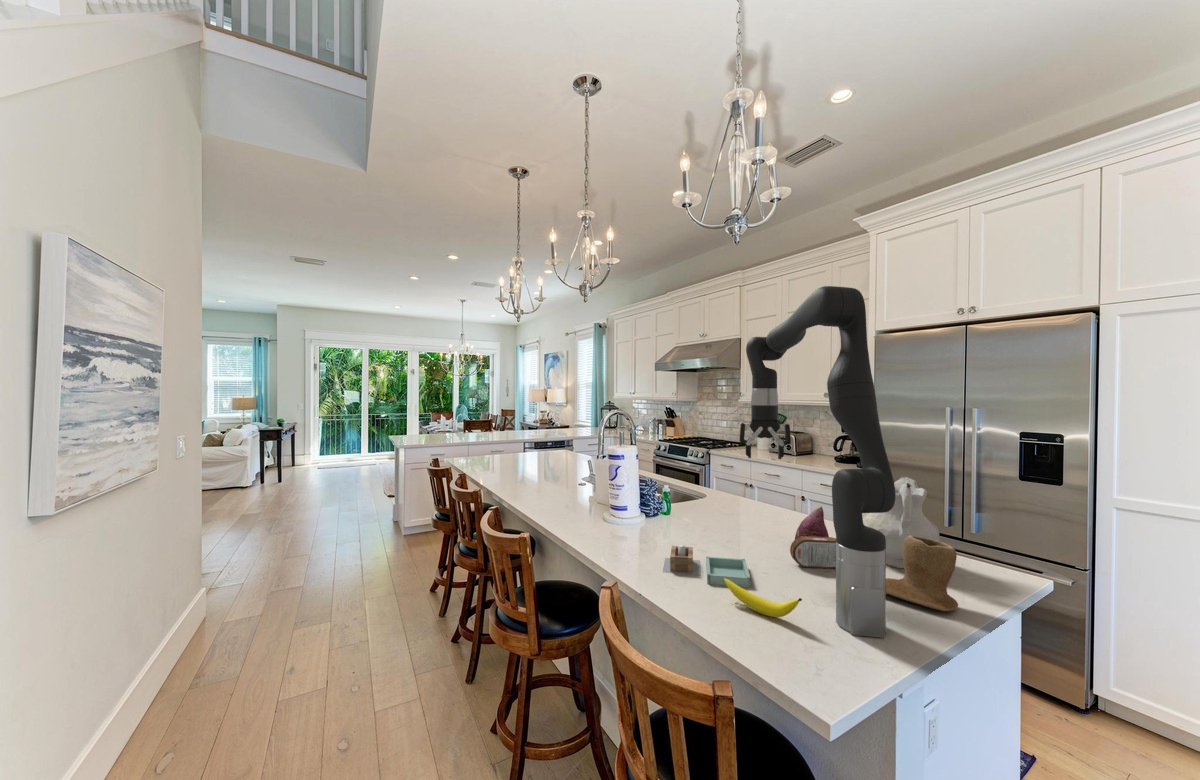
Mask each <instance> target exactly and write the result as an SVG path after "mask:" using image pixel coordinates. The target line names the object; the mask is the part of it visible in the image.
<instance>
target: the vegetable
mask: <svg viewBox="0 0 1200 780" xmlns="http://www.w3.org/2000/svg"><path fill="white" fill-rule="evenodd" d="M824 513H825V512H824V509H823V506H820V507H817V508H816V509H814V510H813V511H812V512H811V513H810V514H808V515H807V516H806V517H805V518H804V519H803V520H802V521H801V522H800V523H799V526H798V527H797V528H796V529H797V530H796V531H795V537H794V540H795V539H797V538H799V537H802V536H813V537H830V536H829V532H828V529H827V525H826V523H825V518H824V516H825V514H824Z"/></svg>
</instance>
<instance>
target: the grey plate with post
mask: <svg viewBox="0 0 1200 780" xmlns="http://www.w3.org/2000/svg"><path fill="white" fill-rule="evenodd" d="M686 547H687V546H686V545H684V544H679V545H678V556H685V552H686ZM662 567H663V569H662V573H669V574H681V575H692V576H701V560H699V559H693V573H686V572H673V571H670V557H665V558H664V562H663V566H662Z"/></svg>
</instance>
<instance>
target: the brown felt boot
mask: <svg viewBox="0 0 1200 780" xmlns="http://www.w3.org/2000/svg"><path fill="white" fill-rule="evenodd" d="M902 555H903V563H904V568H905V569H904V568H903V569H904V576H903V578H900V579H897V578H890V577H886V594H887V595H889V596H892V597H894V598H899V599H901V600H904V601H907V602H910V603H913V604H916V605H920V606H923V607H926V608H929V609H933V610H938V611H941V612H952V611H955V610H957V608H958V606H959V603H958V601H957V600H956V599H955V598H954V597H952V596H950V595H949V594H948V590H947V589H948V585H949V582H950V580H951V579H952V576H953V574H954V572H955V568H956V563H957V557H958V556H957V552H956V549H955V547H953V546H952V545H950V544H947V543H945V542H942V541H940V540H939V541H935V540H932V539H927V538H923V537H917V536H912V535H909V536H907V537H906V538H905V540H904V542H903V548H902Z"/></svg>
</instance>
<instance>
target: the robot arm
mask: <svg viewBox="0 0 1200 780" xmlns="http://www.w3.org/2000/svg"><path fill="white" fill-rule="evenodd" d="M816 326H822V327H831V328H832V327H834V328H838V330H839V337H840V349H839V354H838V356H837V358H836V360H835V362H834V363H833V365H832V368H831V369H830V372H829V374H828V378H827V381H826V386H827V387H826V389H827V396H828V402H829V408H830V412H831V414H832V415H833V417H834V418H835V421H837V423H838V425H839V426H840V427H841V428H842V429H843V431H844V432H845V433H846V435H847V436H848V437H849V438H850V439H851V440H852V443H853V444H854V445H855V447H856V451H857V454H858V456H859V461H860V465H861V468H843V469H839V470H837V471H836V472H835V473H834V475H833V478H832V483H831V498H832V499H831V500H832V518H833V519H832V520H833V522H832V523H833V527H834V532H835V538H836V569H835V622H836V624H837V625H838V626H839V627H840V628H842V629H843V630H845V631H847V632H849V633H850V634H851V635H853V636H862V637H863V636H865V637H872V638H882V639H884V638H885V634H886V631H887V630H886V628H887V625H886V622H887V621H886V620H887V619H886V618H887V616H886V615H887V611H886V608H887V607H886V604H887V603H886V601H887V600H886V599H887V597H886V596H887V595H886V578H887V577H886V576H887V575H886V572H887V571H886V565H887V564H886V538H885V536H884V534H883V533H882V532H880V531H878V530H876V529H873V528H870V527H867V526H865V525H864V524H863V518H864V517H863V514H869V513H884V512H888V511H890V510H891V509H892V508H893V506H894V504H895V497H896V493H895V485H894V482H895V480H894V477H893V473H892V469H891V465H890V461H889V458H888V455H887V451H886V447H885V444H884V439H883V434H882V428H881V424H880V423H881V422H880V418H879V412H878V404H877V397H876V396H877V395H876V391H875V390H876V389H875V385H874V379H873V375H872V369H871V362H870V355H869V347H868V331H867V329H868V328H867V311H866V303H865V297H864V296H863V294H862V292H861V291H860V290H859V289H857V288H854V287H847V286H832V285H831V286H830V285H824V286H821V287H819V288H817V289H815V290H814V291H813V292H812V293H811V294H809V296H807V298H806V299H805V300H804V301H803V302H802V303H800V305H799V306H798V307H797V308H796V309H795V311H793V313H792V314H791V315H790V316H789V317H788V318H787V319H786V320H784V321H783V322H781V323H780V324H778V325H777V326H775V327H774V328H772V329H771V330H770V331H769V332H768V334H767V335H766V336H753V337H751V338H750V339H749V340H747V343H746V347H745V353H746V357H747V358H746V359H747V361H748V363H749V367H750V371H751V377H752V379H751V380H752V381H751V384H752V385H751V387H752V389H751V390H752V391H751V396H750V397H751V400H750V405H751V412H750V413H751V415H750V416H751V417H750V419H751V420H750V423H745V422H741V423H740V426H739V427H740V428H739V440H738V441H739V442H740V444H744V446H745V455H746V457H747V458H748V459H751V458H752V445H751V444H753V442H754V441H755V440H756V438H758V439H763V438H764V439H772V438H773V439H774V440H775V442H776V443H777V444H778V446H777V459H778V460H782V458H784V455H785V454H784V453H785V446H788V445H791V443H792V441H791V440H792V439H791V427H790V424H789V423H784V424H782V423H781V424H780V423H779V395H778V373H777V370H775V369H774V368H770V367H767V366H766V365H765V364H764V362H765V361H766V362H767V361H769V362H771V361H772V362H773V361H778V360H780V359H781V358H783V356H784V355H785V354H786V352H787V351H788V350H789V349H791V348H793V347H795V346H796V345H798V344H800V342H802V341H803V339H804V337H805V336H806V333H807V330H808V329H810V328H812V327H816ZM748 429H751V431H752V433H751V435H750V436H749V437H748V438H747V439H745V432H746V431H748ZM780 429H781V431H782V432H784V440H782V439H781V438H780V436H779V435H778V434H777V432H778V431H779V430H780Z"/></svg>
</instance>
